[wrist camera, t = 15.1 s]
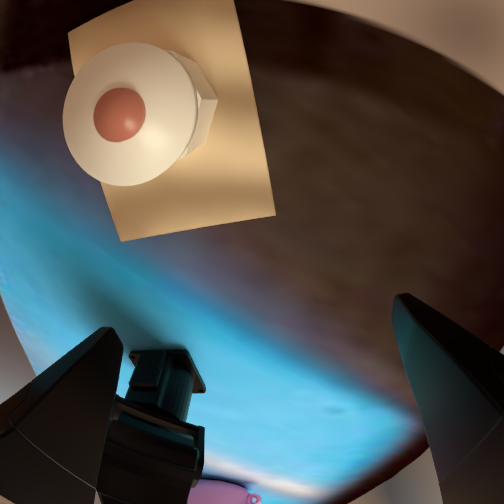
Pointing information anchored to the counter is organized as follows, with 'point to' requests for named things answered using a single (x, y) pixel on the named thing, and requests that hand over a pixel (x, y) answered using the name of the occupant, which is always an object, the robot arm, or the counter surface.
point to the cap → (136, 112)
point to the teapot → (220, 493)
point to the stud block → (221, 129)
